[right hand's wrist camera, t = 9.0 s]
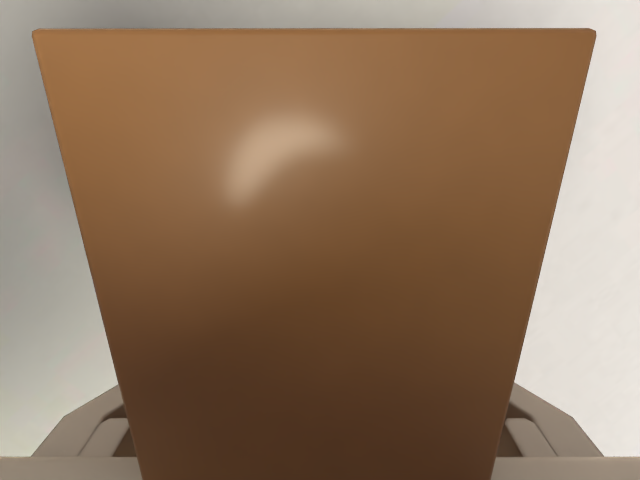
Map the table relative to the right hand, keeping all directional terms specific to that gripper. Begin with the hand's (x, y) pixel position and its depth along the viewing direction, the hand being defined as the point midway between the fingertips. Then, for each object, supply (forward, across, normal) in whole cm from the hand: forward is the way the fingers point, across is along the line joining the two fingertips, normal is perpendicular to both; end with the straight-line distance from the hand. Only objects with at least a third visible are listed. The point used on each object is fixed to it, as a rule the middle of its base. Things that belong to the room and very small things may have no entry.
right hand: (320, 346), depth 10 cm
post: (+3, 0, -27) cm, 27 cm away
